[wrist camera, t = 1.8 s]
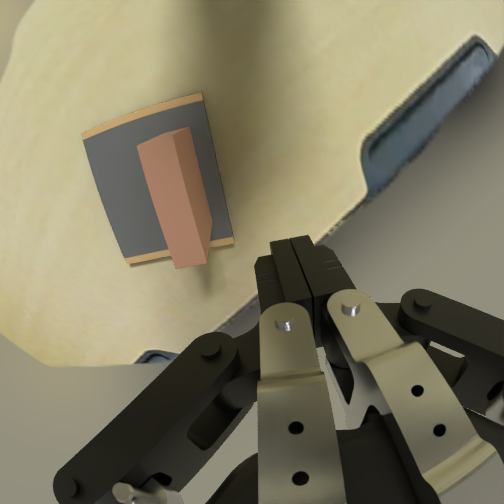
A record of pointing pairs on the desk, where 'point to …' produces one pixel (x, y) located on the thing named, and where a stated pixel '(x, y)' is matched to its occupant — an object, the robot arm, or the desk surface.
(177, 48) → the desk surface
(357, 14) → the desk surface
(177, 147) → the slab
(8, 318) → the desk surface
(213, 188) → the mat
